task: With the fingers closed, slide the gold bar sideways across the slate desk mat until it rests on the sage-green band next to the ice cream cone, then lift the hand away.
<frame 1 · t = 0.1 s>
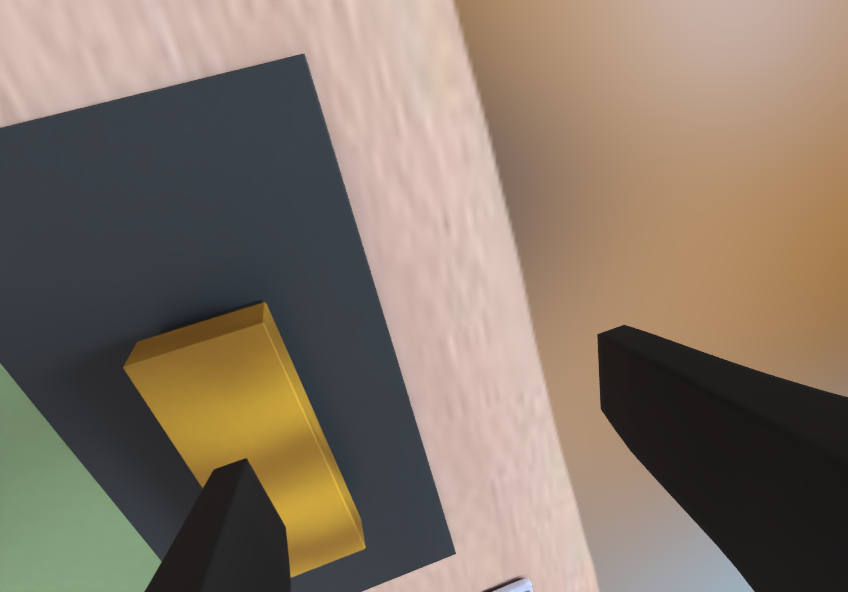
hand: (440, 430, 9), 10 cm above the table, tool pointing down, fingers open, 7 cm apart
desk mat: (149, 461, 20), on the table
gold bar: (268, 424, 20), resting on desk mat
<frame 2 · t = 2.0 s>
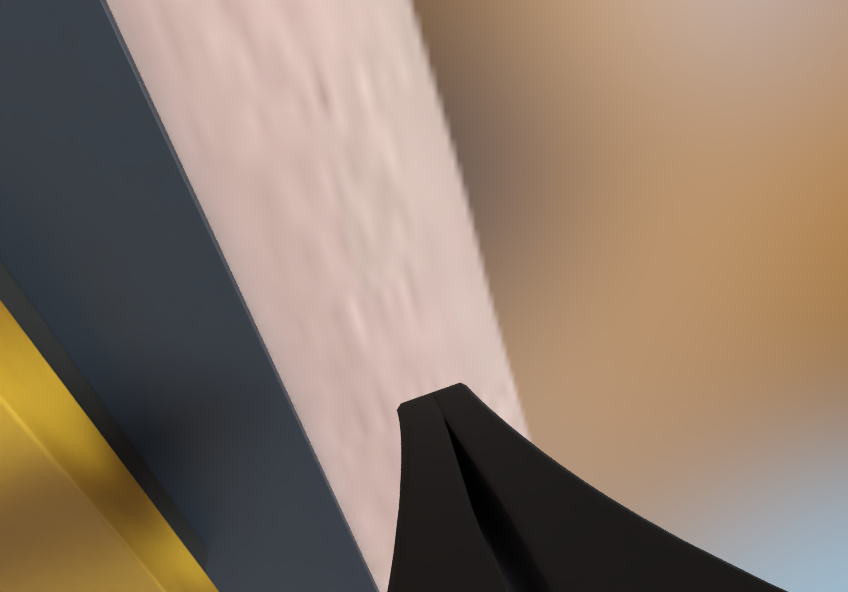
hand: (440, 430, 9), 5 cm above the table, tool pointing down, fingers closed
gold bar: (40, 446, 12), resting on desk mat
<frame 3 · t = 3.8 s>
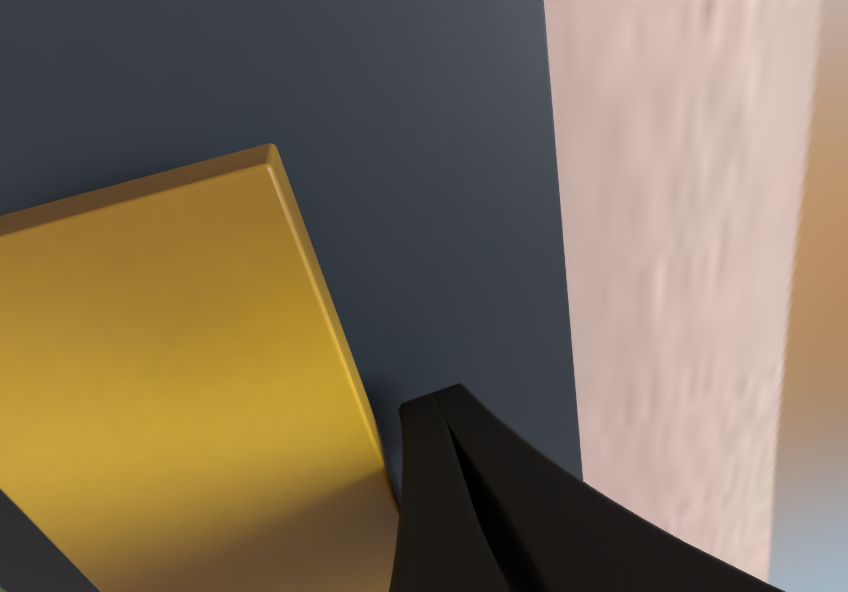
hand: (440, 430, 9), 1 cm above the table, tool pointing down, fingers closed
desk mat: (80, 509, 10), on the table
gold bar: (277, 449, 10), resting on desk mat, touching gripper
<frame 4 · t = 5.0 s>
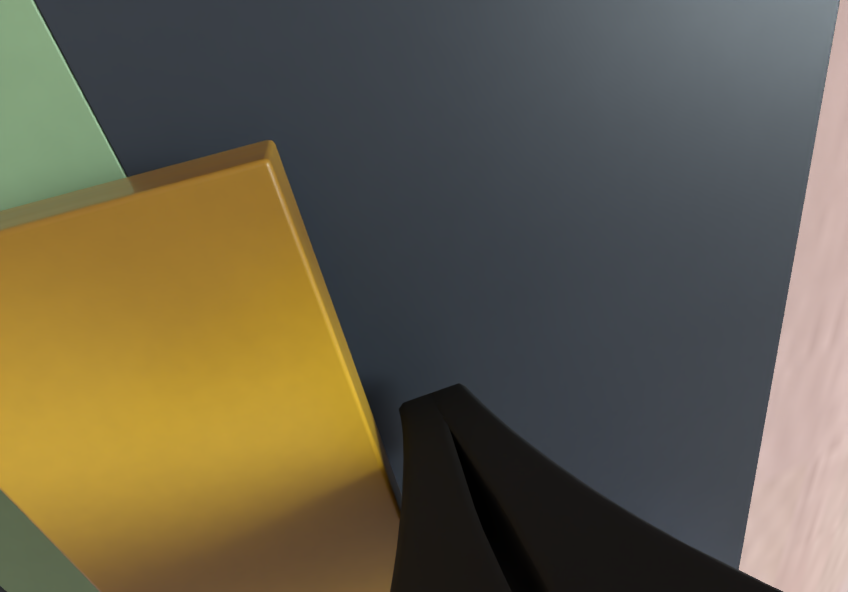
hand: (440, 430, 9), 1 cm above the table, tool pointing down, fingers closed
desk mat: (361, 410, 10), on the table
gold bar: (275, 447, 10), resting on desk mat, touching gripper
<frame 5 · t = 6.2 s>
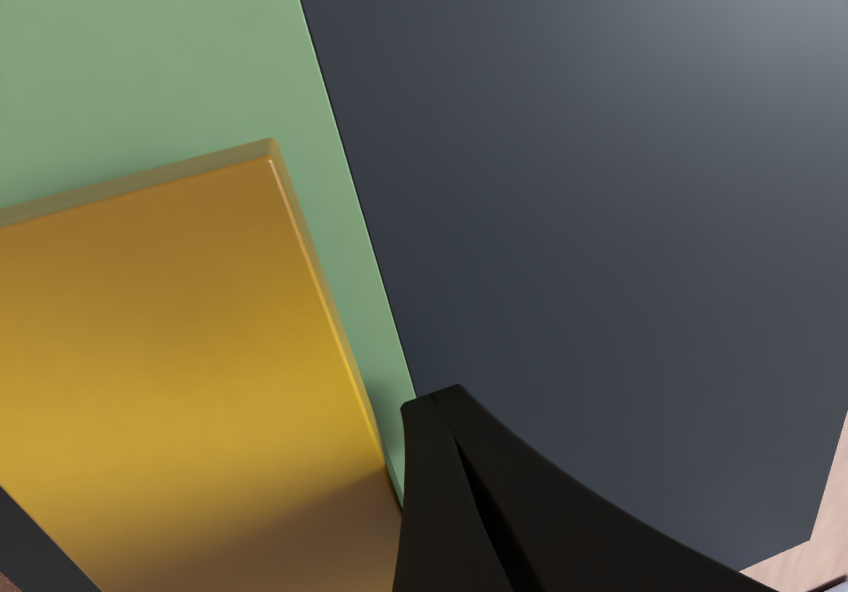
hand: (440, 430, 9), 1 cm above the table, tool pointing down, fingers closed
desk mat: (496, 363, 11), on the table
gold bar: (276, 446, 10), resting on desk mat, touching gripper
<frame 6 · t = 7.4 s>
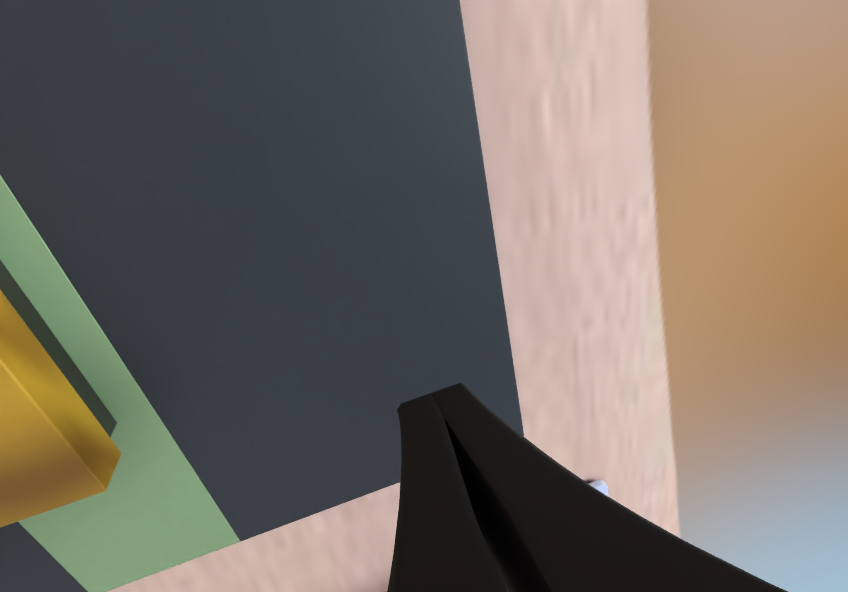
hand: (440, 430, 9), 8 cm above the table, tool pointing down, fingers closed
desk mat: (136, 245, 14), on the table
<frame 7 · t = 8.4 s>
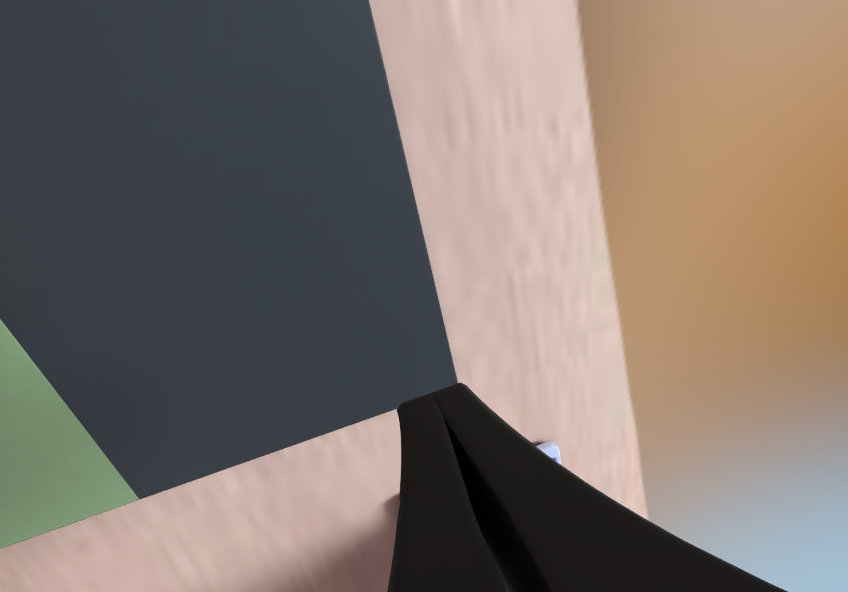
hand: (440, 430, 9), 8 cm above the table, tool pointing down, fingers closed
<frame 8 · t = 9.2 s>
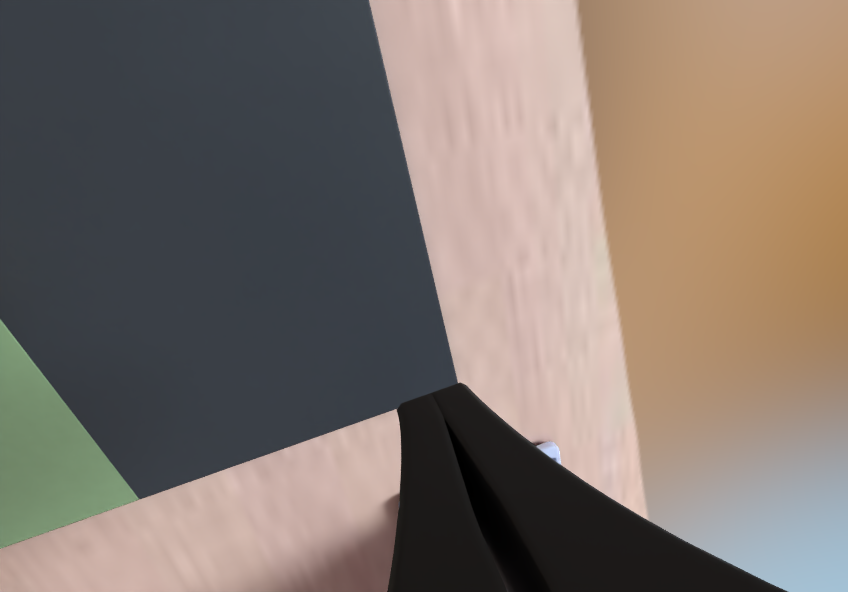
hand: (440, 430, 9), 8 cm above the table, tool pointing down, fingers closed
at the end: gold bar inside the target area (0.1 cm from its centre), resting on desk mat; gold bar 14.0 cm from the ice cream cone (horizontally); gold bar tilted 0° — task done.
